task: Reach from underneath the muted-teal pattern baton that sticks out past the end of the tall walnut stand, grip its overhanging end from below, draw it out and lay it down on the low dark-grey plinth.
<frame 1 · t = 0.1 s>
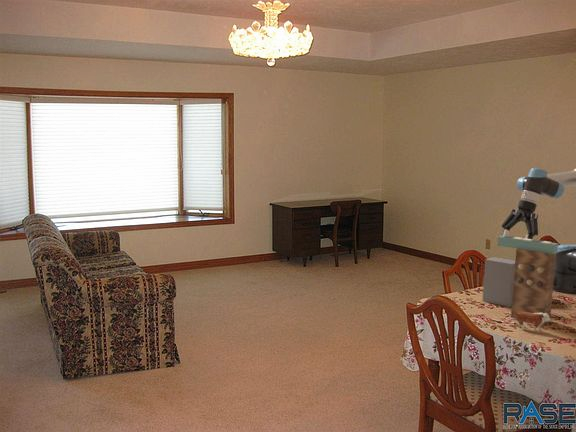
hand: (513, 246, 280), 28 cm above the table, tool tilted 20°, fingers open, 13 cm apart
bull figurine: (532, 330, 251), on the table
walnut stand: (530, 319, 265), on the table
pattern baton: (526, 249, 263), point 30 cm above the table, touching walnut stand
grey plinth: (499, 302, 289), on the table
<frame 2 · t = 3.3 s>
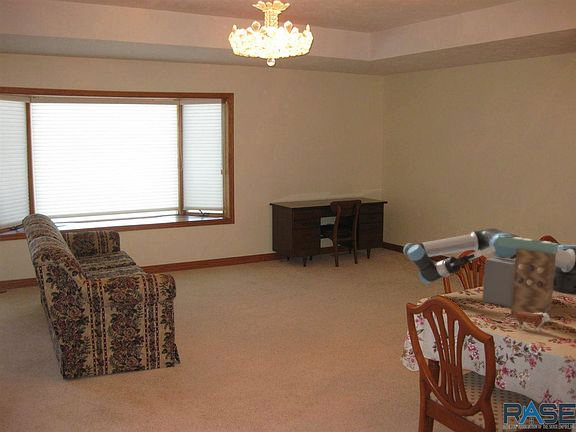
hand: (487, 250, 275), 27 cm above the table, tool pointing upward, fingers open, 13 cm apart
nothing on the table moved.
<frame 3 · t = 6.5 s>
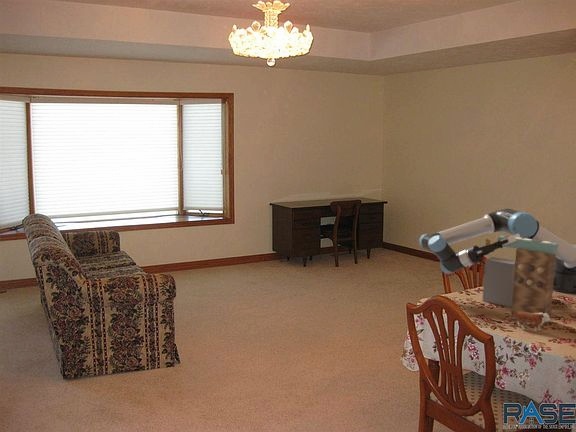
hand: (517, 236, 265), 35 cm above the table, tool pointing upward, fingers closed on pattern baton, 4 cm apart
pattern baton: (526, 249, 263), point 30 cm above the table, touching gripper, walnut stand
everything else where it was.
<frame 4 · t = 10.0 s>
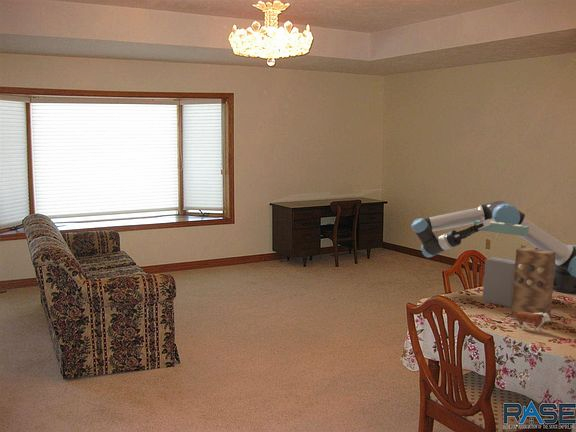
hand: (491, 221, 284), 38 cm above the table, tool pointing upward, fingers closed on pattern baton, 4 cm apart
pattern baton: (500, 232, 282), point 34 cm above the table, touching gripper
everything else where it was.
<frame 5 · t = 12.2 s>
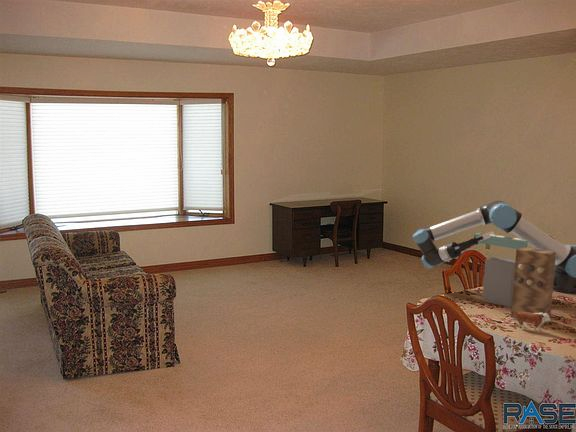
hand: (491, 234, 288), 32 cm above the table, tool pointing upward, fingers closed on pattern baton, 4 cm apart
pattern baton: (499, 245, 286), point 27 cm above the table, touching gripper
everything else where it was.
when the fingers open (26 cm above the table, at t = 13.8 s): pattern baton stays where it is, resting on grey plinth.
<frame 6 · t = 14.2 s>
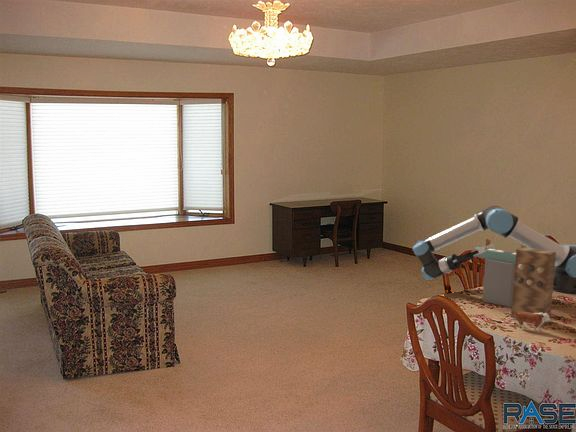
hand: (489, 247, 290), 25 cm above the table, tool pointing upward, fingers open, 9 cm apart
pattern baton: (499, 259, 287), point 20 cm above the table, touching grey plinth
everything else where it was.
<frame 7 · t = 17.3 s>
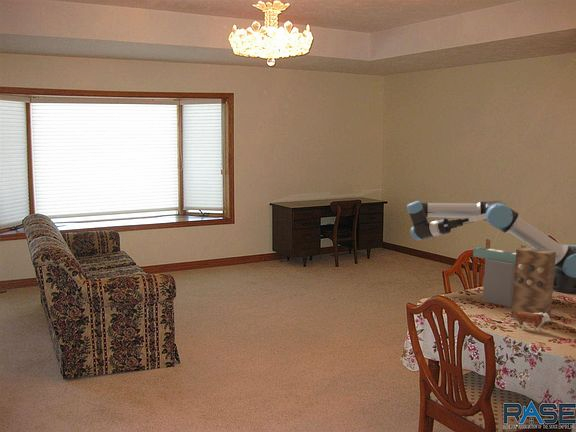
hand: (481, 216, 294), 39 cm above the table, tool pointing upward, fingers open, 13 cm apart
nothing on the table moved.
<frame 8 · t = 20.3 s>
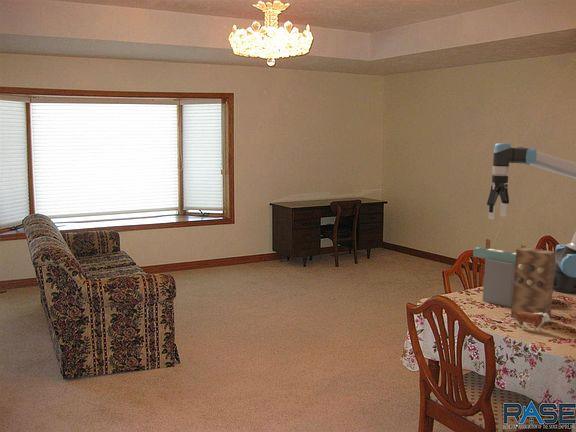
hand: (497, 217, 306), 37 cm above the table, tool pointing down, fingers open, 13 cm apart
at the end: pattern baton inside the target area on the grey plinth (1.6 cm from its centre), point 20.0 cm above the grey plinth's base; the gripper is holding nothing; pattern baton touching grey plinth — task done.
